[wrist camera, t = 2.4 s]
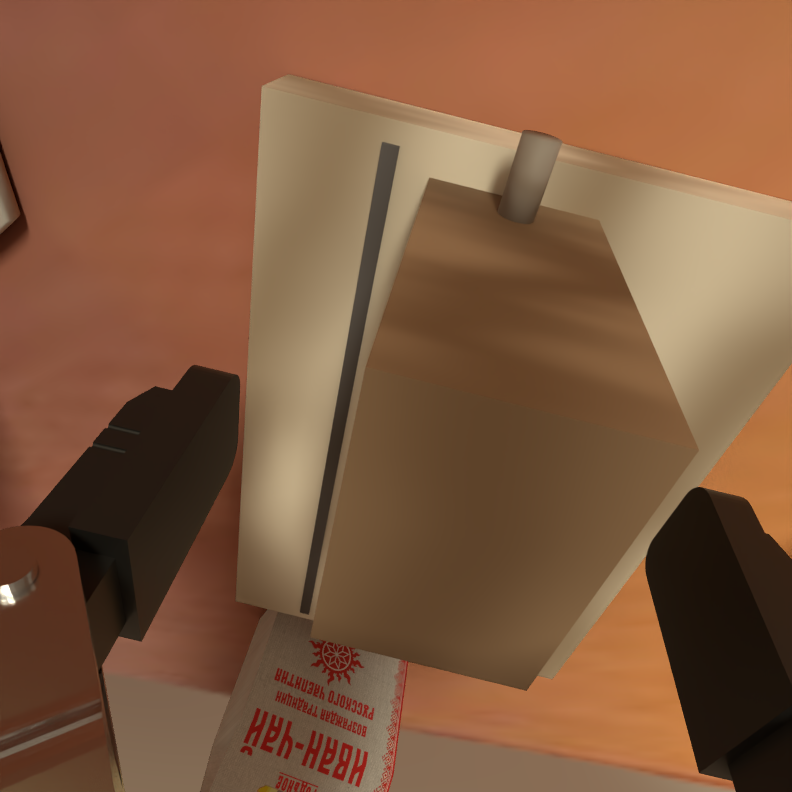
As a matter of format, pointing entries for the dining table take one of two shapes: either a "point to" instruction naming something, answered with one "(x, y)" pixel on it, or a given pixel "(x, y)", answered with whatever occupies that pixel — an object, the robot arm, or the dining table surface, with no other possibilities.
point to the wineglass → (6, 200)
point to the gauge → (497, 436)
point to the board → (375, 274)
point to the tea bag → (308, 716)
